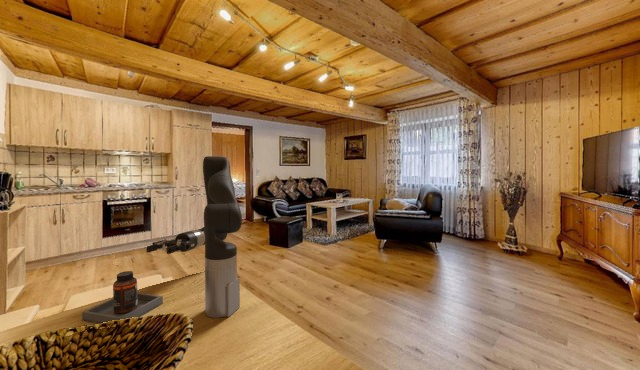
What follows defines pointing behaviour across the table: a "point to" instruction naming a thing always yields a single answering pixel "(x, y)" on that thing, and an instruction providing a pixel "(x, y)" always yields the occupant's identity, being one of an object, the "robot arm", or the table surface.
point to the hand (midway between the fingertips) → (157, 250)
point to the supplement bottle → (125, 292)
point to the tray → (106, 313)
